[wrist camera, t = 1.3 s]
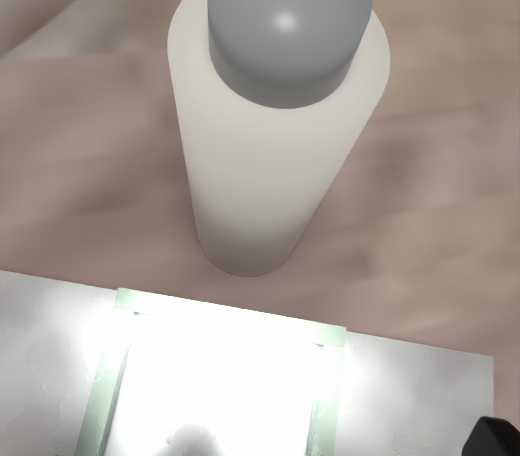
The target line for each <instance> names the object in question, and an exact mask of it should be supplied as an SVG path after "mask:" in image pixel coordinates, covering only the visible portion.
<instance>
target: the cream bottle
mask: <svg viewBox="0 0 520 456" xmlns="http://www.w3.org/2000/svg"><path fill="white" fill-rule="evenodd" d="M167 46H168V59H169V65H170V71H171V77H172V84H173V90H174V96H175V102H176V108H177V114H178V120H179V126H180V133H181V139H182V145H183V151H184V157H185V163H186V169H187V175H188V181H189V188H190V194H191V200H192V206H193V212H194V218H195V224H196V230H197V236H198V241H199V243H200V246H201V248H202V250H203V252H204V253H205V255H206V256H207V258H208V259H209V260H210V261H211V262H212V263H213V264H214V265H216V266H217V267H218V268H220V269H222V270H223V271H225V272H228V273H230V274H233V275H237V276H243V277H253V276H260V275H264V274H266V273H269V272H271V271H273V270H275V269H276V268H278V267H279V266H281V265H282V264H283V263H284V262H285V261H286V260H287V259H288V257H289V256H290V255H291V253H292V251H293V250H294V248H295V246H296V244H297V243H298V241H299V239H300V237H301V236H302V234H303V232H304V230H305V229H306V227H307V225H308V223H309V222H310V220H311V218H312V217H313V215H314V213H315V211H316V210H317V208H318V206H319V204H320V203H321V201H322V199H323V197H324V196H325V194H326V192H327V190H328V189H329V187H330V185H331V183H332V182H333V180H334V178H335V176H336V175H337V173H338V171H339V170H340V168H341V166H342V164H343V163H344V161H345V159H346V157H347V156H348V154H349V152H350V150H351V149H352V147H353V145H354V143H355V142H356V140H357V138H358V136H359V135H360V133H361V131H362V130H363V128H364V126H365V124H366V123H367V121H368V119H369V117H370V116H371V114H372V112H373V110H374V109H375V107H376V105H377V103H378V102H379V100H380V98H381V96H382V94H383V92H384V90H385V87H386V85H387V81H388V76H389V71H390V51H389V45H388V41H387V37H386V34H385V32H384V29H383V26H382V24H381V22H380V21H379V19H378V17H377V15H376V14H375V12H374V11H373V10H372V0H182V2H181V3H180V5H179V7H178V8H177V10H176V12H175V14H174V16H173V19H172V21H171V25H170V29H169V33H168V43H167Z"/></svg>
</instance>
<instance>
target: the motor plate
mask: <svg viewBox="0 0 520 456" xmlns="http://www.w3.org/2000/svg"><path fill="white" fill-rule="evenodd" d="M482 416H489V417H493V357H491V356H485V355H479V354H473V353H468V352H462V351H456V350H451V349H445V348H439V347H434V346H428V345H422V344H417V343H411V342H405V341H400V340H394V339H388V338H383V337H377V336H371V335H366V334H360V333H354V332H349V331H346V327H341V326H335V325H329V324H324V323H318V322H312V321H307V320H301V319H295V318H290V317H284V316H278V315H273V314H267V313H261V312H256V311H250V310H244V309H239V308H233V307H227V306H222V305H216V304H210V303H205V302H199V301H193V300H188V299H182V298H176V297H171V296H165V295H159V294H154V293H148V292H142V291H137V290H131V289H125V288H120V287H118V290H117V291H116V290H111V289H105V288H99V287H93V286H88V285H82V284H76V283H71V282H65V281H59V280H54V279H48V278H42V277H37V276H31V275H25V274H20V273H14V272H8V271H3V270H0V456H461V451H462V447H463V445H464V443H465V441H466V439H467V438H468V436H469V434H470V432H471V430H472V429H473V427H474V425H475V423H476V421H477V420H478V419H479V418H480V417H482Z"/></svg>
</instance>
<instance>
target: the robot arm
mask: <svg viewBox="0 0 520 456" xmlns="http://www.w3.org/2000/svg"><path fill="white" fill-rule="evenodd" d="M461 456H520V432H519V431H518V430H517V429H516V428H515V427H514V426H513V425H512V424H511V423H509V422H508V421H506V420H504V419H500V418H494V417H489V416H482V417H480V418H479V419H478V420H477V421H476V423H475V425H474V427H473V429H472V430H471V432H470V434H469V436H468V438H467V439H466V441H465V443H464V445H463V447H462V451H461Z"/></svg>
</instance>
